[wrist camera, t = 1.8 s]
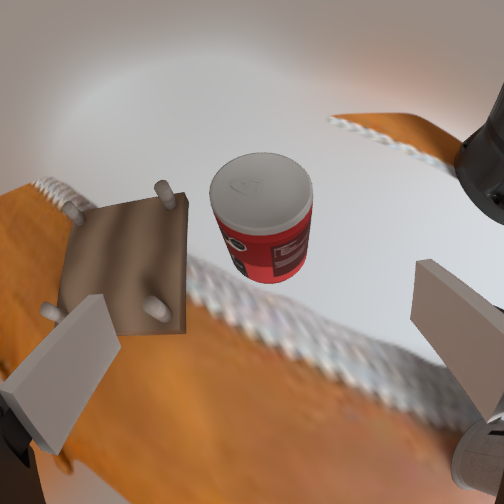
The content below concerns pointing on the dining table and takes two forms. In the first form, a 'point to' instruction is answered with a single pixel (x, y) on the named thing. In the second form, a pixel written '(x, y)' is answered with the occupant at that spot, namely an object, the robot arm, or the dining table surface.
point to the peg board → (129, 263)
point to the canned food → (264, 214)
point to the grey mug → (480, 457)
